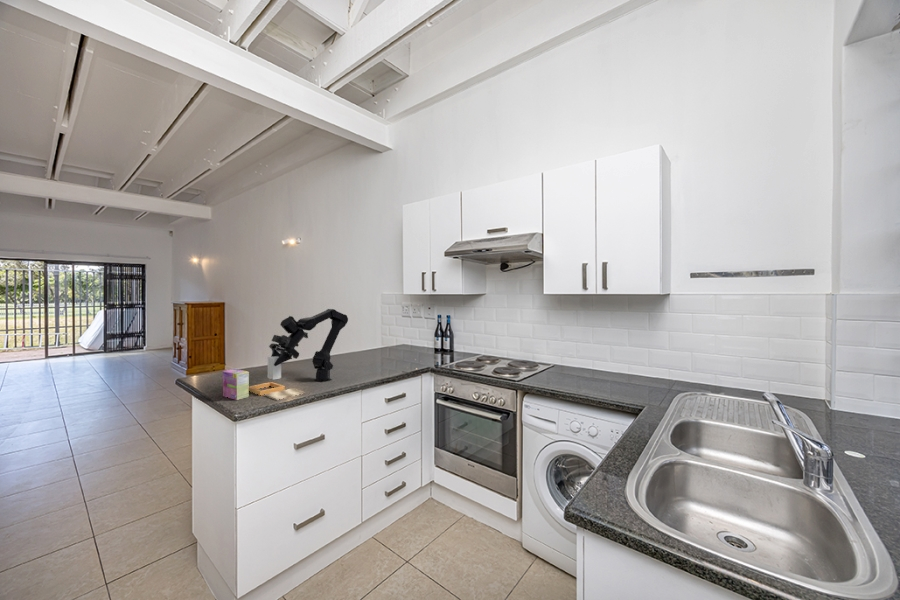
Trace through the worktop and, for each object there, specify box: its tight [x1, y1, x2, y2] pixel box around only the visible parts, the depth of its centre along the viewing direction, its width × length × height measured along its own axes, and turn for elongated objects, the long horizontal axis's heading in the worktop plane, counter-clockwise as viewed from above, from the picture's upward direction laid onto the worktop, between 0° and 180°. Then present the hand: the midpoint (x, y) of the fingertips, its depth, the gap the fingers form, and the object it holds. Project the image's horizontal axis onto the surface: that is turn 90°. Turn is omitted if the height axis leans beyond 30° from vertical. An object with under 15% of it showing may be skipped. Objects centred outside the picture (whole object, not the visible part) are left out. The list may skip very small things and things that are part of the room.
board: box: [264, 387, 306, 401], centre depth 171 cm, size 14×10×1 cm
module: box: [267, 356, 282, 380], centre depth 174 cm, size 4×5×10 cm
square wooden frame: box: [249, 381, 286, 396], centre depth 176 cm, size 12×12×2 cm
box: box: [222, 368, 250, 401], centre depth 165 cm, size 10×6×12 cm, turn 62°
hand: (271, 364), depth 173 cm, fingers closed on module, 5 cm apart
